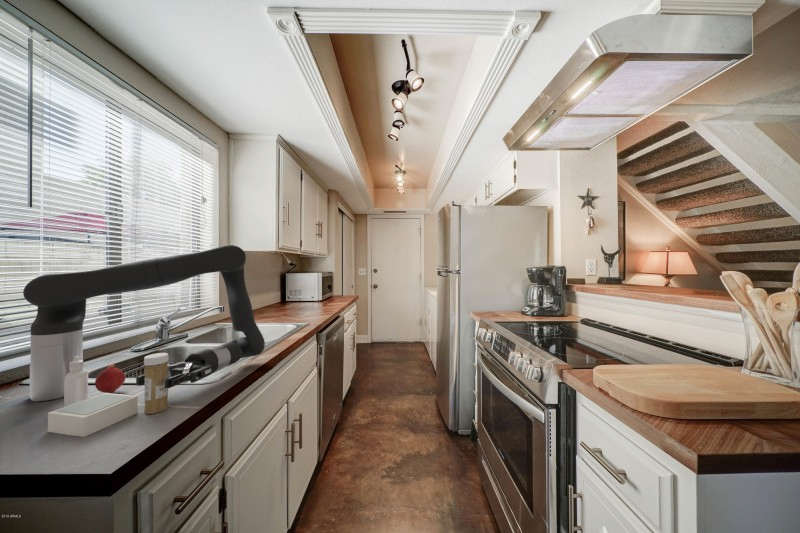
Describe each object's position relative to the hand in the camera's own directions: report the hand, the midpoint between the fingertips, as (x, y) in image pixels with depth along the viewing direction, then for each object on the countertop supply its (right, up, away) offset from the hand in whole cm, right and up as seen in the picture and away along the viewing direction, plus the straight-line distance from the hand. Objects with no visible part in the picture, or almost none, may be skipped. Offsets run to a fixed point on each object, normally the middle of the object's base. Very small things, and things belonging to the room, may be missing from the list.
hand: (151, 383), depth 68 cm
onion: (-20, -7, +10) cm, 24 cm away
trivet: (-9, -7, -4) cm, 12 cm away
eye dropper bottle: (-23, -7, +5) cm, 25 cm away
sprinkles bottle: (0, -7, +1) cm, 7 cm away
